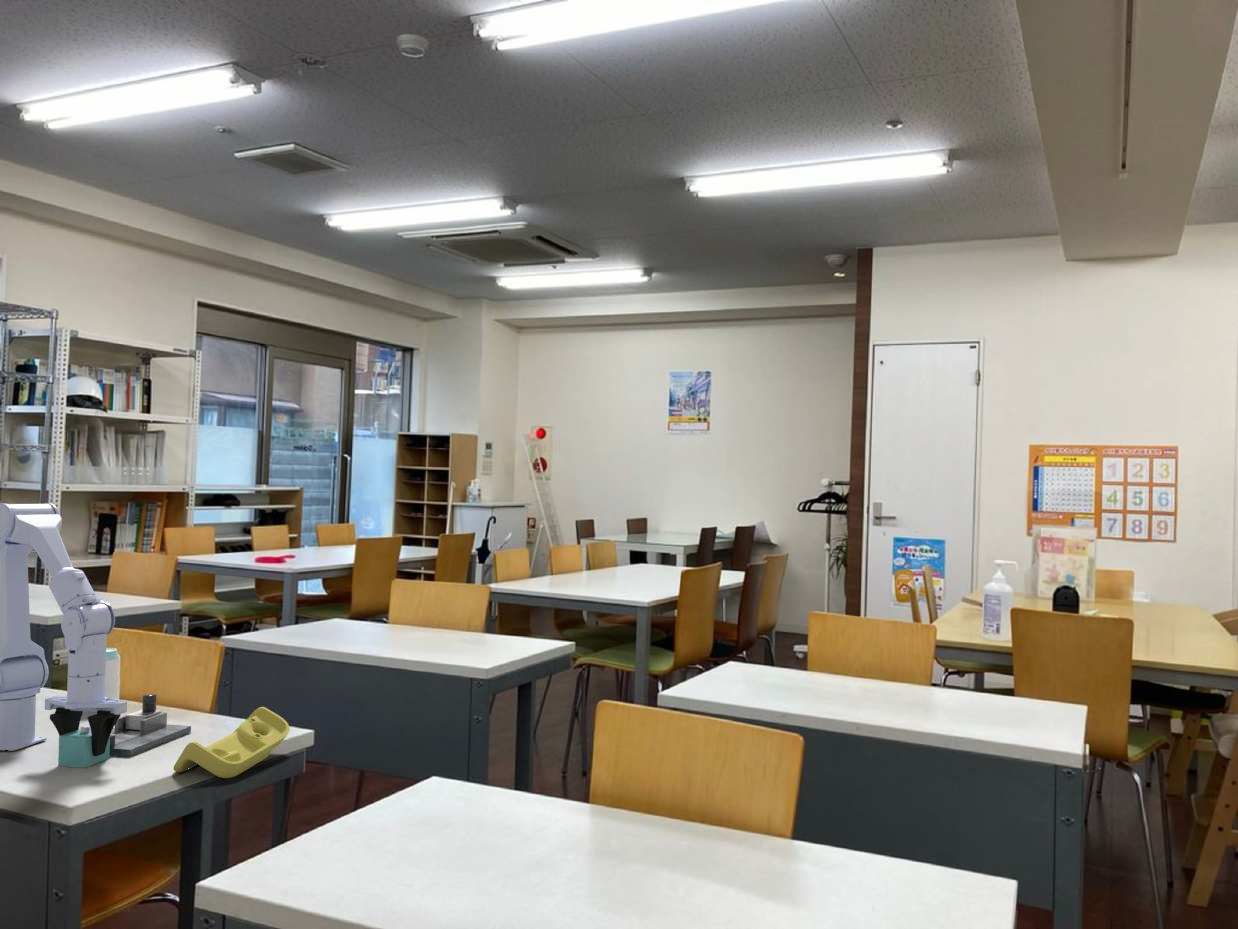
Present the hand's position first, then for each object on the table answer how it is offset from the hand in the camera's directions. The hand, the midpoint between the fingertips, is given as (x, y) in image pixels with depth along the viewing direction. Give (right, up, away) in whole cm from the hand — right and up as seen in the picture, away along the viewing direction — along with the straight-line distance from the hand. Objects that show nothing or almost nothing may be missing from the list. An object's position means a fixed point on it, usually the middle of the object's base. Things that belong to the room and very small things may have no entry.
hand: (84, 753), depth 163 cm
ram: (+1, 0, +19) cm, 19 cm away
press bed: (+1, -2, +12) cm, 12 cm away
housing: (0, -1, 0) cm, 1 cm away
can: (-19, -2, +40) cm, 44 cm away
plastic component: (+26, -2, +2) cm, 26 cm away
